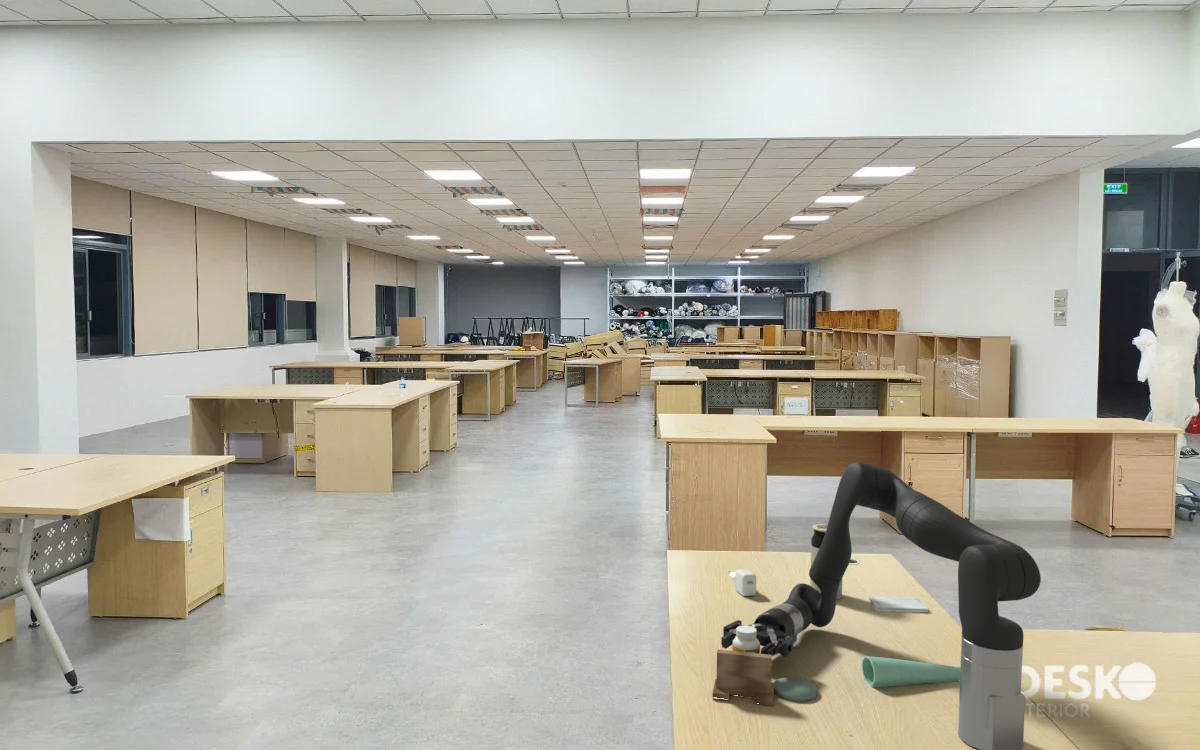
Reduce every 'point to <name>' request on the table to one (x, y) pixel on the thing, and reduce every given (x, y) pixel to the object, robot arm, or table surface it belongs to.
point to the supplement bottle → (746, 640)
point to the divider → (744, 676)
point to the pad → (795, 689)
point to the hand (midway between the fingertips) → (742, 649)
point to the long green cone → (905, 672)
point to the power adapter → (744, 581)
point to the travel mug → (815, 545)
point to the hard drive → (897, 604)
